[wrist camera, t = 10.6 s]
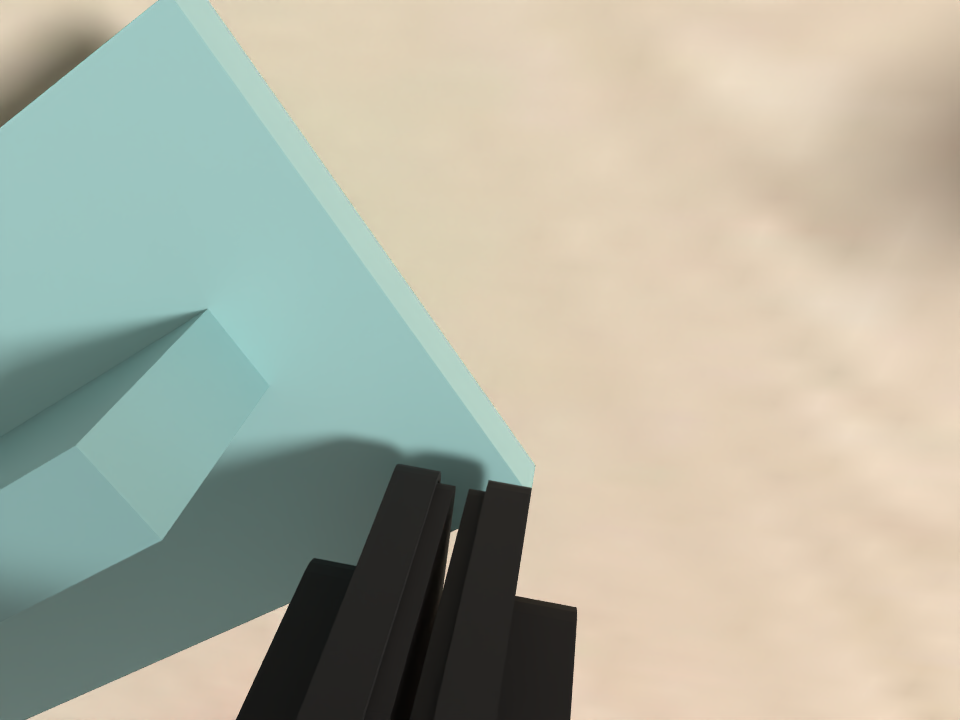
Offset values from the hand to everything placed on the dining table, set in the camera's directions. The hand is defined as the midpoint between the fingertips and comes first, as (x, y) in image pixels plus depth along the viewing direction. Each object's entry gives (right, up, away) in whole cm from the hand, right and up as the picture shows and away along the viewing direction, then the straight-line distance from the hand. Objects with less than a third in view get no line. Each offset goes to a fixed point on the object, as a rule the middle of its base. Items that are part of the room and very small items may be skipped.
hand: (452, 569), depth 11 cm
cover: (-10, -1, +4) cm, 11 cm away
